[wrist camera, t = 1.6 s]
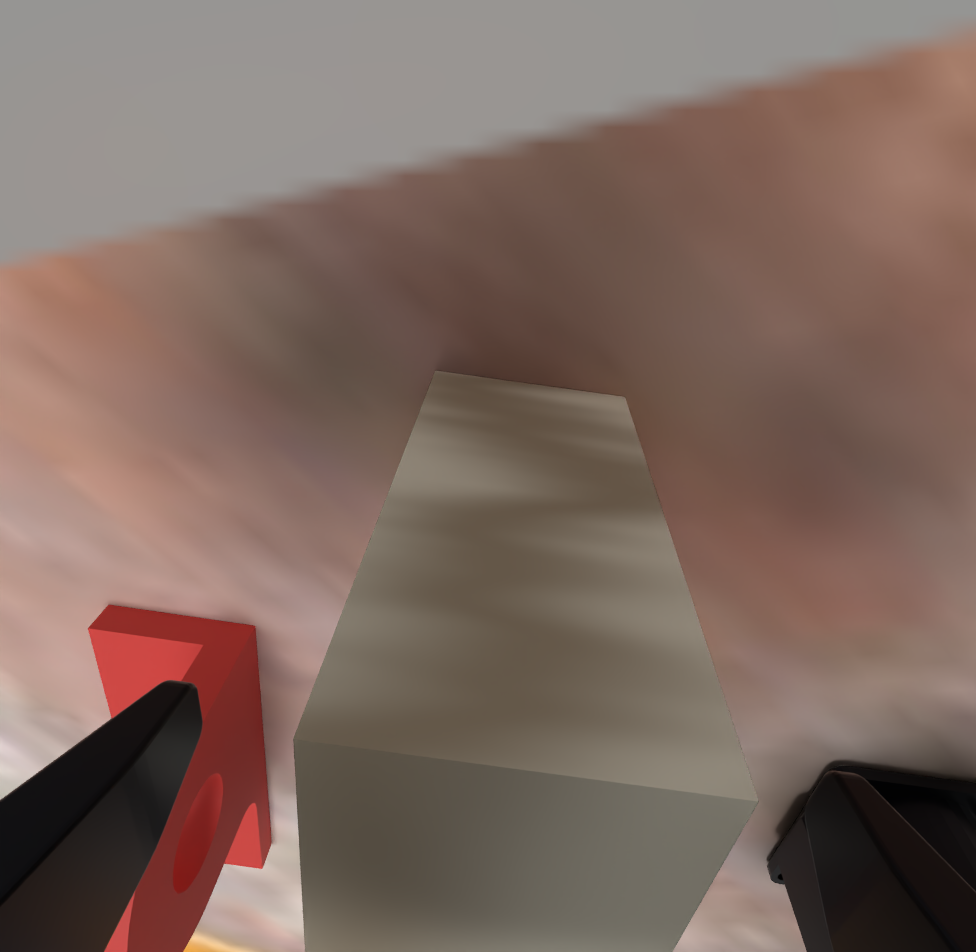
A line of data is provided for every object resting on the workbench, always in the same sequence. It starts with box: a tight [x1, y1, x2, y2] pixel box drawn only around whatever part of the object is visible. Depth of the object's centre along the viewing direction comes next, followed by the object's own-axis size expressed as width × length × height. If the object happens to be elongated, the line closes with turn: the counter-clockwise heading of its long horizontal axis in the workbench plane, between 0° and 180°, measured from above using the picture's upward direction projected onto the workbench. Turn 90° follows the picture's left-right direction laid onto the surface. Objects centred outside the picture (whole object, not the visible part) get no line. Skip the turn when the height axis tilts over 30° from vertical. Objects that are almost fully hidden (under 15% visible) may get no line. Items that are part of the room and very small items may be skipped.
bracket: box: [88, 605, 272, 952], centre depth 19 cm, size 12×4×8 cm, turn 172°
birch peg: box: [293, 371, 759, 952], centre depth 11 cm, size 4×4×10 cm
